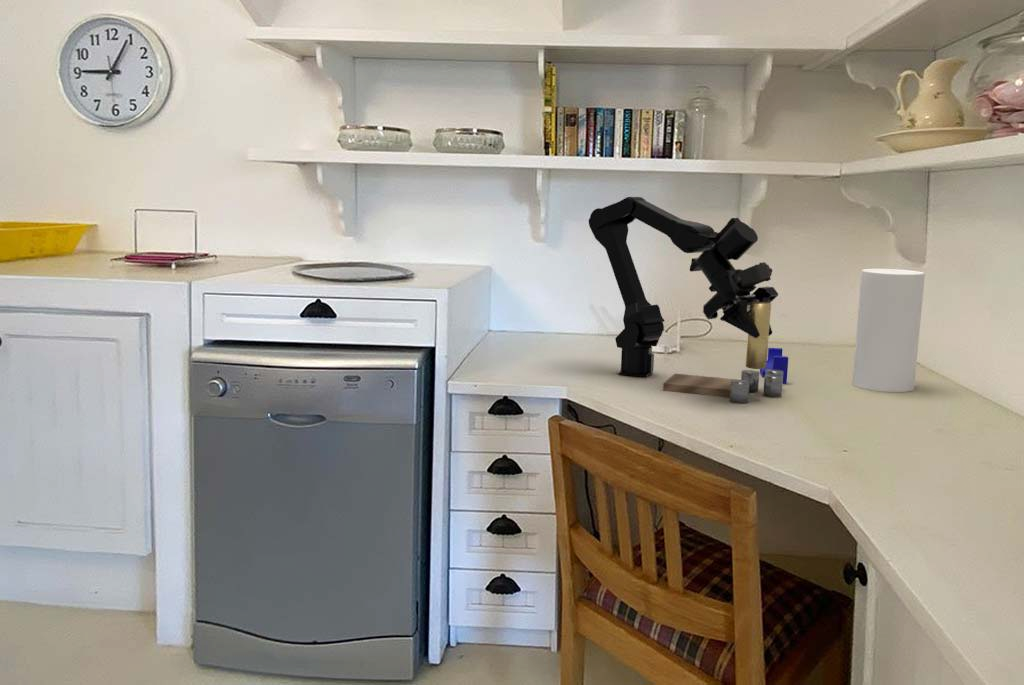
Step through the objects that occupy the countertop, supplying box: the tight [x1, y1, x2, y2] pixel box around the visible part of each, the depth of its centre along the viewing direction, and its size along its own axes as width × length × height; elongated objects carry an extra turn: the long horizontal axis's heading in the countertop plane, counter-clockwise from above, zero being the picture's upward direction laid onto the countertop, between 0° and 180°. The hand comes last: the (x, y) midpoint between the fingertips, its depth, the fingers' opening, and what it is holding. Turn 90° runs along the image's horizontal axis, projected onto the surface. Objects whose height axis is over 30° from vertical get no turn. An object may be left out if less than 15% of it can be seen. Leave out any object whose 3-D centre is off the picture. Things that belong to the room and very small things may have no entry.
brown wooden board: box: [662, 373, 739, 398], centre depth 194 cm, size 14×11×2 cm
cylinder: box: [852, 268, 926, 393], centre depth 198 cm, size 12×12×25 cm
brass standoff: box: [745, 302, 772, 370], centre depth 183 cm, size 4×4×13 cm
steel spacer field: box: [729, 369, 784, 404], centre depth 189 cm, size 9×18×4 cm, turn 158°
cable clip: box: [759, 347, 789, 385], centre depth 206 cm, size 12×4×6 cm, turn 171°
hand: (764, 335), depth 182 cm, fingers closed on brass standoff, 4 cm apart
